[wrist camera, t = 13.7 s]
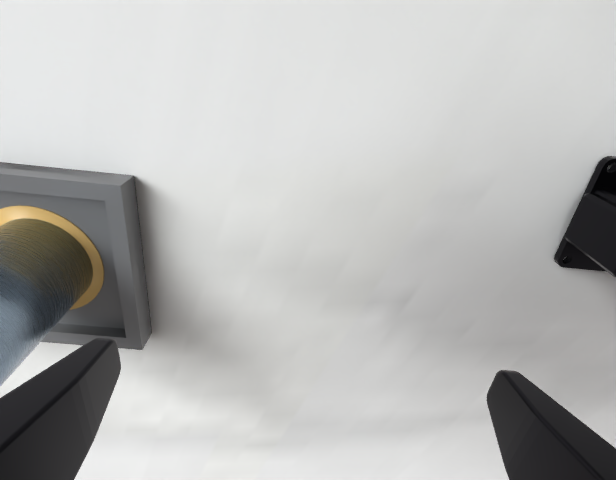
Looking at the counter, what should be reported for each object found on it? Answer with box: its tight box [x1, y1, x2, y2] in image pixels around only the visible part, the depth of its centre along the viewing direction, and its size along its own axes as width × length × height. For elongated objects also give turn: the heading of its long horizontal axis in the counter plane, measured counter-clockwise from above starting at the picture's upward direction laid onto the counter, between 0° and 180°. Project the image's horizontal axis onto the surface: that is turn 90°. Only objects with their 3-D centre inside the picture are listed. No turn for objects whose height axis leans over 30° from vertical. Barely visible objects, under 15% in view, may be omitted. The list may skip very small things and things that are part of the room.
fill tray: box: [0, 162, 152, 350], centre depth 22 cm, size 11×11×2 cm
